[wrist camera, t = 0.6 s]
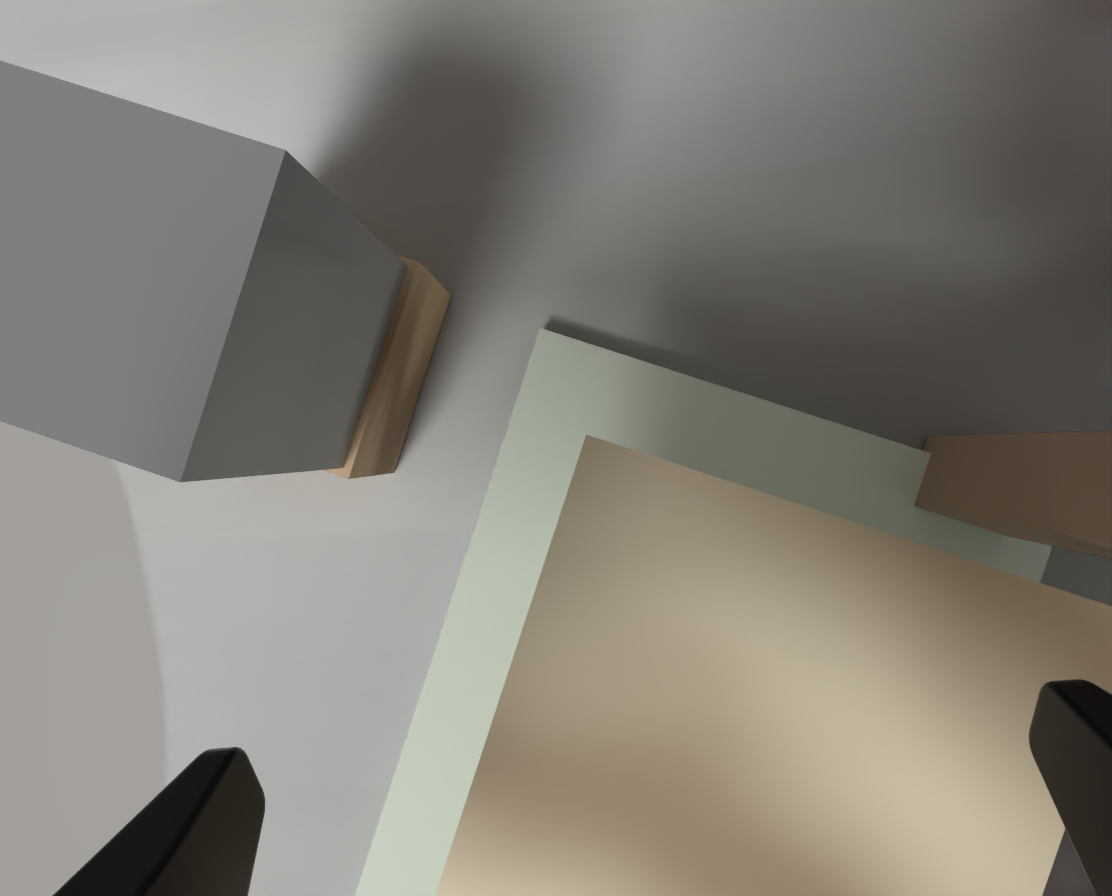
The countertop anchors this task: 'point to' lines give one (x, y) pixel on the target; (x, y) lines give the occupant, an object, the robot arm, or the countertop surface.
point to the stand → (725, 452)
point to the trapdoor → (768, 707)
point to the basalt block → (178, 290)
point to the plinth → (397, 375)
